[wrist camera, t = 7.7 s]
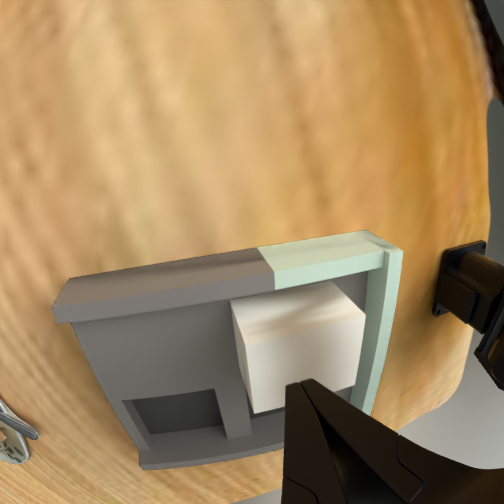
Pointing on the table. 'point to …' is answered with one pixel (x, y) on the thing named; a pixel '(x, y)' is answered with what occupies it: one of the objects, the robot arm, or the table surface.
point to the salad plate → (14, 436)
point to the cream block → (296, 341)
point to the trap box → (216, 340)
